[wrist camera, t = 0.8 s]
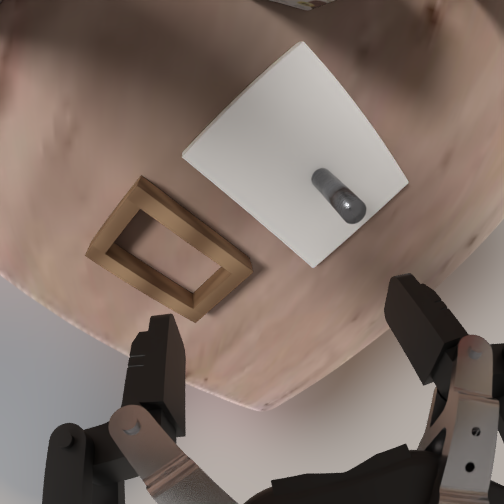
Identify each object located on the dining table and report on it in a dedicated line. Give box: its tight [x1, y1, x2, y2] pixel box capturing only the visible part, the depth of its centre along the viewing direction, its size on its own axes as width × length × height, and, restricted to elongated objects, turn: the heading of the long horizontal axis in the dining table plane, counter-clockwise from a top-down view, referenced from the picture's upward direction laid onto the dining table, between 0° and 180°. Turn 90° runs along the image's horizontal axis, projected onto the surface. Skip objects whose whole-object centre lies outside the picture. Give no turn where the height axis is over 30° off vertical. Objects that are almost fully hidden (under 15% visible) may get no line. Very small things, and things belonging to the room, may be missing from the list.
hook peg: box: [311, 168, 366, 224], centre depth 26 cm, size 2×2×7 cm
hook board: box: [182, 42, 409, 268], centre depth 28 cm, size 18×14×2 cm
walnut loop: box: [85, 176, 253, 323], centre depth 31 cm, size 14×9×2 cm, turn 44°
